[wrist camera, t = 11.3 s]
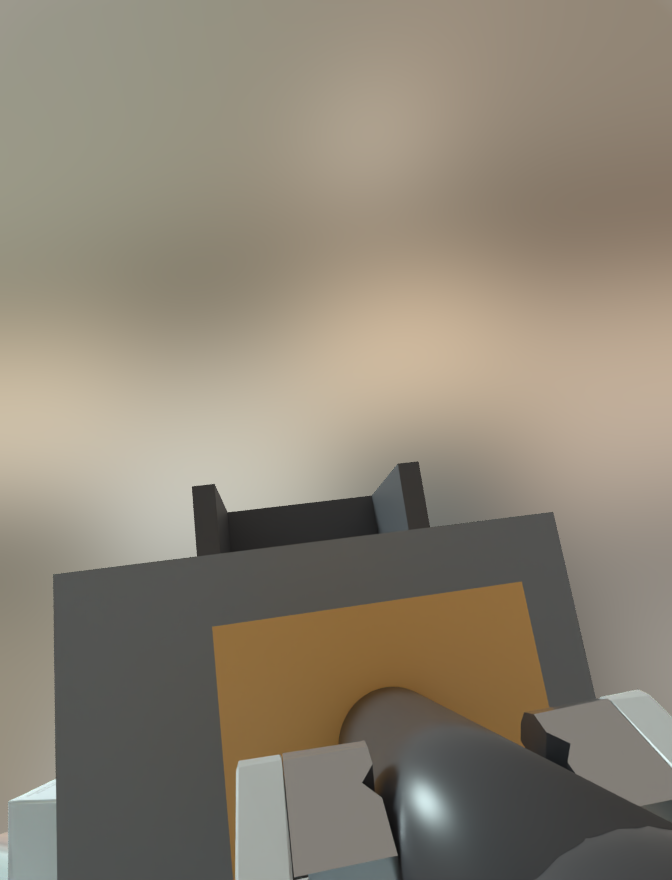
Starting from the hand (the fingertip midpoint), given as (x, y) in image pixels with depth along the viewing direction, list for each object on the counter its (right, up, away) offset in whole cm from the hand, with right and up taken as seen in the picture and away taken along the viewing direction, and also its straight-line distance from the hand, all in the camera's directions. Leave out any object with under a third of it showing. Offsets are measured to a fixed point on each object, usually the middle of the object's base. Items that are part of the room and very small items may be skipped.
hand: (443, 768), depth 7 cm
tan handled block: (0, -3, +1) cm, 4 cm away
